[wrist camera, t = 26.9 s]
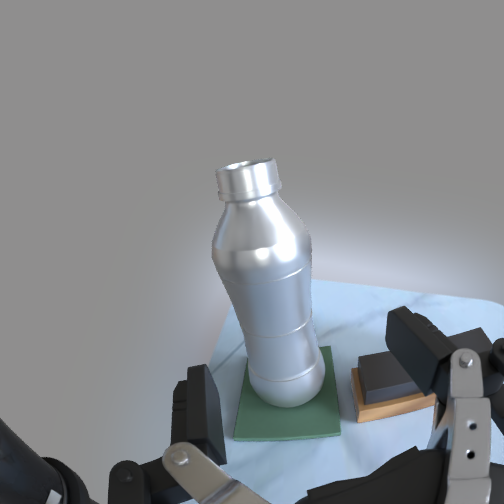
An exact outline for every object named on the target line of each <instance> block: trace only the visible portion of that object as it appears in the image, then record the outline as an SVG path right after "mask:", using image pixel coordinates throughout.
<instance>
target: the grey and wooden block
mask: <svg viewBox="0 0 504 504" xmlns="http://www.w3.org/2000/svg"><path fill="white" fill-rule="evenodd" d="M447 338H448V339H449V340H450V341H451V342H452V343H453V344H455V345H456V346H457V347H458V348H459V349H462V348H467V349H471V350H473V351H475V352H476V353H481V352H485V351H488V350H491V348H492V346H493V344H492V343H491V341H490V340H489V338H488V337H487V336H486V334H485V333H484V331H483V330H482V328H481V327H479V328H476V329H473V330H470V331H467V332H463V333H460V334H456V335H453V336H449V337H447ZM351 386H352V392H353V398H354V404H355V411H356V417H357V423H362V422H367V421H373V420H378V419H382V418H387V417H392V416H396V415H400V414H404V413H408V412H412V411H416V410H419V409H423V408H426V407H430V406H433V405H435V398H436V394H435V393H432V394H430V395H429V396H427V397H425V396H424V394H423V393H422V392H421V390H420V389H419V388H418V386H417V385H416V384H415V382H414V381H413V380H412V378H411V377H410V376H409V375H408V373H407V372H406V371H405V369H404V368H403V367H402V366H401V364H400V363H399V362H398V360H397V359H396V358H395V357H394V355H393V354H392V353H391V352H390V351H386V352H381V353H376V354H371V355H365V356H359V357H358V368H352V369H351Z"/></svg>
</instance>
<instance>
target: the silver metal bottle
mask: <svg viewBox="0 0 504 504" xmlns="http://www.w3.org/2000/svg"><path fill="white" fill-rule="evenodd" d="M216 178H217V183H218V188H219V192H218V196H219V199H220V200H221V201H225V210H224V212H223V215H222V217H221V219H220V221H219V223H218V225H217V228H216V231H215V234H214V237H213V240H212V259H213V262H214V264H215V267H216V270H217V272H218V274H219V276H220V278H221V280H222V283H223V285H224V287H225V289H226V290H227V293H228V295H229V297H230V299H231V302H232V304H233V307H234V309H235V312H236V315H237V318H238V320H239V322H240V326H241V329H242V331H243V334H244V340H245V345H246V350H247V355H248V371H249V378H250V383H251V385H252V387H253V389H254V390H255V392H256V393H257V395H258V396H259V397H260V398H261V399H262V400H263V401H265V402H266V403H268V404H271V405H274V406H278V407H286V408H288V407H295V406H299V405H302V404H304V403H306V402H308V401H309V400H311V399H312V398H313V397H314V396H316V395H317V394H318V392H319V391H320V390H321V388H322V385H323V381H324V376H325V364H324V360H323V356H322V353H321V351H320V349H319V346H318V342H317V338H316V333H315V329H314V324H313V318H312V301H311V263H312V261H311V259H312V255H311V253H312V248H311V237H310V234H309V232H308V230H307V228H306V226H305V224H304V222H303V221H302V220H301V219H300V218H299V216H298V215H297V214H296V213H295V212H294V211H293V210H292V209H291V208H290V207H289V206H288V205H287V204H286V203H285V202H284V201H283V200H282V199H281V198H280V197H279V194H278V190H280V189H281V188H282V185H281V180H280V179H279V176H278V171H277V165H276V162H275V159H274V158H267V159H258V160H252V161H247V162H242V163H238V164H233V165H229V166H226V167H223V168H220V169H217V170H216Z"/></svg>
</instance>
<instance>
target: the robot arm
mask: <svg viewBox="0 0 504 504" xmlns="http://www.w3.org/2000/svg"><path fill="white" fill-rule="evenodd" d="M385 340H386V344H387V347H388V349H389V350H390V352H391V353H392V354H393V355H394V357H395V358H396V359H397V360H398V362H399V363H400V364H401V366H402V367H403V368H404V369H405V371H406V372H407V373H408V375H409V376H410V377H411V378H412V380H413V381H414V382H415V384H416V385H417V386H418V388H419V389H420V390H421V392H422V393H423V394H424V396H425V397H427V396H429V395H430V394H432V393H435V394H436V398H435V406H434V416H433V425H432V432H431V437H430V440H429V442H428V445H427V449H425V450H420V451H419V450H418V449H417V447H416V446H414V447H412V448H411V449H409V450H407V451H405V452H403V453H401V454H399V455H397V456H395V457H393V458H391V459H390V460H389V461H387V462H386V463H385V464H384V465H382V466H381V467H380V468H378V469H377V470H376V471H374V472H373V473H371V474H370V475H368V476H365V477H360V478H354V479H348V480H341V481H335V482H332V483H329V484H326V485H323V486H320V487H316V488H313V489H310V490H307V494H308V496H306V497H304V498H302V499H300V500H299V501H297V502H296V503H295V504H504V465H501V464H497V463H492V462H490V451H491V418H492V419H493V421H494V422H495V424H496V425H497V427H498V428H499V429H500V431H501V432H502V434H503V435H504V384H503V382H504V338H500V339H497V340H496V341H495V342H494V343H493V346H492V348H491V350H488V351H485V352H481V353H476V352H475V351H473V350H471V349H467V348H462V349H459V348H458V347H457V346H456V345H455V344H453V343H452V342H451V341H450V340H449V339H448V338H447V337H446V336H445V335H444V334H443V333H442V332H441V331H440V330H438V328H437V327H436V326H435V325H433V323H432V322H431V321H429V320H428V319H427V318H426V317H425V316H422V315H420V314H418V313H414V314H413V313H412V312H411V311H410V310H409V309H408V308H407V307H405V306H402V307H399V308H397V309H394V310H392V311H389V312H388V316H387V326H386V336H385ZM172 410H173V412H172V426H171V428H172V429H171V444H170V447H168V448H167V449H166V450H165V452H164V454H163V456H162V457H160V458H158V459H156V460H153V461H151V462H148V463H145V464H142V465H138V464H137V463H135V462H133V461H128V460H126V461H121V462H119V463H117V464H116V465H114V467H113V468H112V469H111V471H110V475H109V489H108V504H179V503H182V502H185V501H188V500H191V499H193V498H194V499H195V500H196V501H197V502H198V503H199V504H271V503H269V502H268V501H266V500H265V499H263V498H262V497H261V496H259V495H258V494H256V493H255V492H253V491H252V490H251V489H249V488H248V487H247V486H245V485H244V484H242V483H241V482H240V481H238V480H235V479H233V478H232V477H231V476H229V475H228V474H227V473H226V472H225V471H223V470H222V469H221V468H220V465H224V464H227V460H226V452H225V443H224V435H223V426H222V416H221V407H220V398H219V393H218V390H217V387H216V385H215V383H214V380H213V378H212V376H211V374H210V371H209V369H208V367H207V365H206V364H203V365H198V366H192V367H188V372H187V380H184V381H179V382H178V384H177V386H176V388H175V390H174V391H173V407H172ZM0 504H71V494H70V489H69V486H68V483H67V481H66V479H65V477H64V476H63V475H62V473H61V472H59V471H58V470H57V469H56V468H54V467H53V466H52V465H51V464H49V463H47V462H46V461H45V460H43V459H42V458H41V457H40V456H38V454H36V453H35V452H34V451H33V450H32V449H31V448H30V447H29V446H28V445H27V444H25V443H24V442H23V441H22V440H21V439H20V438H19V437H18V436H17V435H16V434H15V433H14V432H13V431H12V430H11V429H10V428H9V427H8V426H7V425H6V424H5V423H4V422H3V421H2V419H1V418H0Z"/></svg>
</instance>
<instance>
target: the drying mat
mask: <svg viewBox="0 0 504 504" xmlns="http://www.w3.org/2000/svg"><path fill="white" fill-rule="evenodd" d="M319 349H320V351H321V353H322V356H323V360H324V364H325V376H324V381H323V385H322V388H321V390H320V391H319V392H318V394H317V395H316V396H314V397H313V398H312V399H311V400H309V401H308V402H306V403H304V404H302V405H299V406H295V407H288V408H286V407H278V406H274V405H271V404H268V403H266V402H265V401H263V400H262V399H261V398H260V397H259V396H258V395H257V393H256V392H255V390H254V389H253V387H252V385H251V383H250V378H249V371H248V358H247V364H246V370H245V375H244V381H243V386H242V392H241V397H240V403H239V408H238V413H237V419H236V424H235V429H234V435H233V439H234V441H284V440H301V439H313V438H323V437H331V436H339V435H341V426H340V416H339V407H338V398H337V390H336V382H335V375H334V367H333V360H332V353H331V347H330V346H325V347H319Z"/></svg>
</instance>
